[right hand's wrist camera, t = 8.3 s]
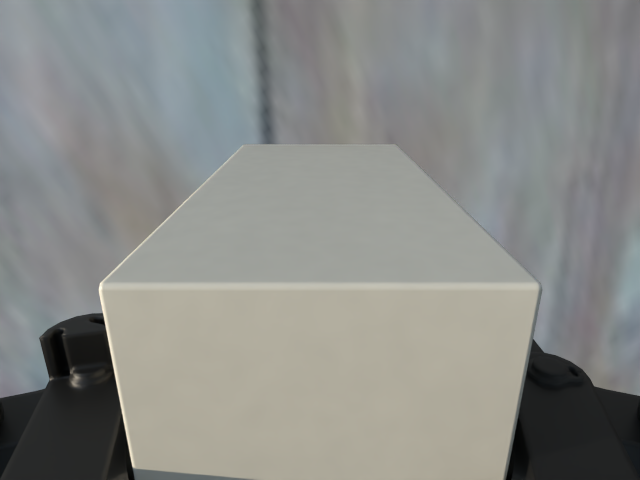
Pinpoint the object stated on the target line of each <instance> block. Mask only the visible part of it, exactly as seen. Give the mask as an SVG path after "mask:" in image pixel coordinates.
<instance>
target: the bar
mask: <svg viewBox="0 0 640 480" xmlns="http://www.w3.org/2000/svg"><path fill="white" fill-rule="evenodd" d="M99 294H100V299H101V304H102V310H103V315H104V320H105V325H106V331H107V336H108V341H109V346H110V352H111V357H112V362H113V367H114V373H115V378H116V383H117V388H118V394H119V399H120V404H121V409H122V415H123V420H124V425H125V430H126V436H127V441H128V446H129V451H130V457H131V462H132V467H133V472H134V478H135V480H506V477H507V471H508V466H509V461H510V456H511V451H512V445H513V440H514V435H515V430H516V424H517V419H518V414H519V409H520V403H521V398H522V393H523V388H524V383H525V377H526V372H527V367H528V362H529V356H530V351H531V346H532V341H533V336H534V330H535V325H536V320H537V315H538V309H539V304H540V299H541V294H542V286H541V283H540V282H539V281H538V280H537V279H536V278H535V277H534V276H533V275H532V274H531V273H530V272H529V271H528V270H526V269H525V268H524V267H523V266H522V265H521V264H520V263H519V262H518V261H517V260H516V259H515V258H514V257H513V256H512V255H511V254H510V253H509V252H508V251H507V250H506V249H505V248H504V247H502V246H501V245H500V244H499V243H498V242H497V241H496V240H495V239H494V238H493V237H492V236H491V235H490V234H489V233H488V232H487V231H486V230H485V229H484V228H483V227H482V226H481V225H480V224H479V223H477V222H476V221H475V220H474V219H473V218H472V217H471V216H470V215H469V214H468V213H467V212H466V211H465V210H464V209H463V208H462V207H461V206H460V205H459V204H458V203H457V202H456V201H455V200H454V199H452V198H451V197H450V196H449V195H448V194H447V193H446V192H445V191H444V190H443V189H442V188H441V187H440V186H439V185H438V184H437V183H436V182H435V181H434V180H433V179H432V178H431V177H430V176H428V175H427V174H426V173H425V172H424V171H423V170H422V169H421V168H420V167H419V166H418V165H417V164H416V163H415V162H414V161H413V160H412V159H411V158H410V157H409V156H408V155H407V154H406V153H405V152H403V151H402V150H401V149H400V148H399V147H398V146H397V145H395V144H245V145H243V146H242V147H241V148H240V149H239V150H238V151H237V152H236V153H235V154H234V155H233V156H232V157H231V158H229V159H228V160H227V161H226V162H225V163H224V164H223V165H222V166H221V167H220V168H219V169H218V170H217V171H216V172H215V173H214V174H213V175H212V176H211V177H210V178H209V179H208V180H207V181H206V182H205V183H204V184H203V185H202V186H200V187H199V188H198V189H197V190H196V191H195V192H194V193H193V194H192V195H191V196H190V197H189V198H188V199H187V200H186V201H185V202H184V203H183V204H182V205H181V206H180V207H179V208H178V209H177V210H176V211H175V212H174V213H172V214H171V215H170V216H169V217H168V218H167V219H166V220H165V221H164V222H163V223H162V224H161V225H160V226H159V227H158V228H157V229H156V230H155V231H154V232H153V233H152V234H151V235H150V236H149V237H148V238H147V239H146V240H145V241H143V242H142V243H141V244H140V245H139V246H138V247H137V248H136V249H135V250H134V251H133V252H132V253H131V254H130V255H129V256H128V257H127V258H126V259H125V260H124V261H123V262H122V263H121V264H120V265H119V266H118V267H117V268H115V269H114V270H113V271H112V272H111V273H110V274H109V275H108V276H107V277H106V278H105V279H104V280H103V281H102V282H101V283H100V286H99Z"/></svg>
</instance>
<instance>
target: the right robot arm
mask: <svg viewBox="0 0 640 480" xmlns="http://www.w3.org/2000/svg"><path fill="white" fill-rule="evenodd" d="M39 339H40V342H41V346H42V350H43V354H44V358H45V362H46V366H47V370H48V374H49V378H50V380H49V382H48V384H47V386H46V388H45V389H42V390H39V391H34V392H29V393H24V394H19V395H14V396H9V397H4V398H0V480H135V478H134V472H133V467H132V462H131V457H130V451H129V446H128V441H127V436H126V430H125V425H124V420H123V415H122V409H121V404H120V399H119V394H118V388H117V383H116V378H115V373H114V367H113V362H112V357H111V352H110V346H109V341H108V336H107V331H106V325H105V320H104V315H103V313H98V314H87V315H82V316H77V317H74V318H71V319H68V320H65V321H62V322H60V323H58V324H56V325H55V326H53V327H51V328H49V329H48V330H47V331H46V332H45V333H44V334H43V335H42V336H41V337H40V338H39ZM506 480H640V396H637V395H631V394H626V393H621V392H616V391H611V390H606V389H602V388H598V387H594V386H593V384H592V382H591V380H590V378H589V377H588V376H587V375H586V373H585V372H584V371H583V370H582V369H581V368H579V367H578V366H576V365H575V364H573V363H572V362H570V361H568V360H566V359H563V358H561V357H558V356H556V355H552V354H547V353H544V352H543V351H542V349H541V348H540V347H539V346H538V344H537V343H536V342H535V341H534V339H533V341H532V346H531V351H530V356H529V362H528V367H527V372H526V377H525V383H524V388H523V393H522V398H521V403H520V409H519V414H518V419H517V424H516V430H515V435H514V440H513V445H512V451H511V456H510V461H509V466H508V471H507V477H506Z"/></svg>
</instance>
